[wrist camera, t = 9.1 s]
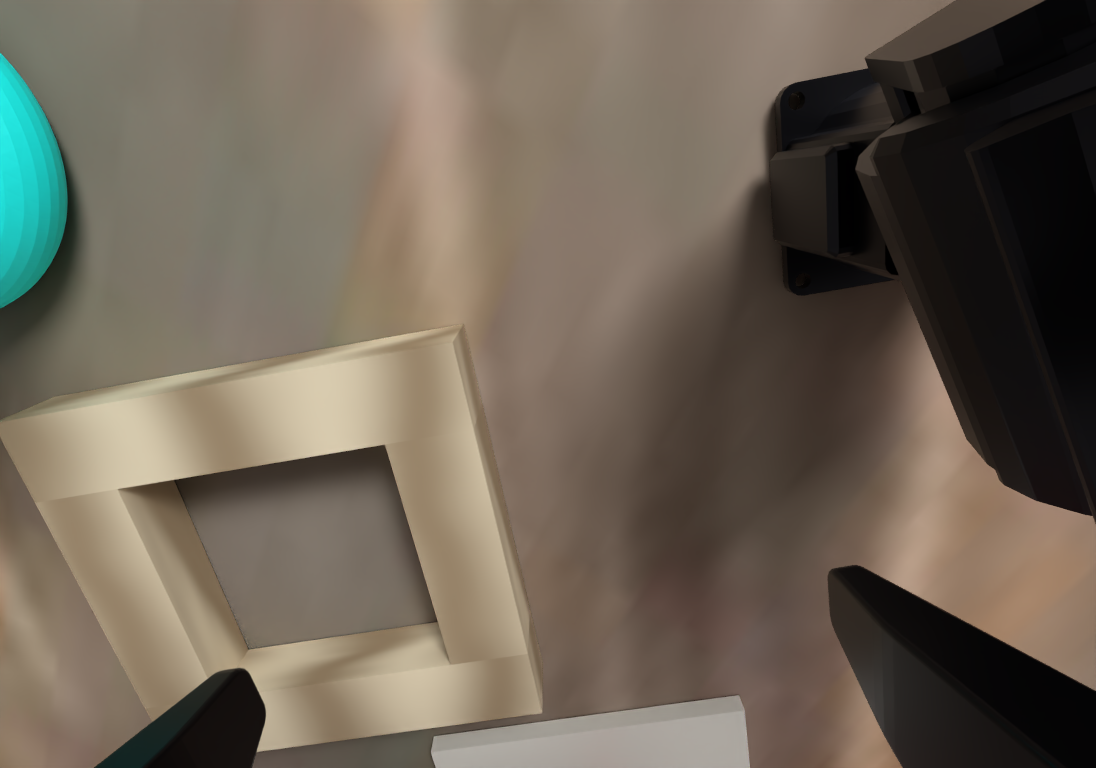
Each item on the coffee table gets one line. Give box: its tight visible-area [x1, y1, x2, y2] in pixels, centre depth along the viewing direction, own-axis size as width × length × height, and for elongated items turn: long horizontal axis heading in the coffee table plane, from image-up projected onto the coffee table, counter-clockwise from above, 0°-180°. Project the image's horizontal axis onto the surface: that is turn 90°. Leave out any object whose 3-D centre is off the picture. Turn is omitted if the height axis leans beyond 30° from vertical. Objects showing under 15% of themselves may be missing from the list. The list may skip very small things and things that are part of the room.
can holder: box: [0, 324, 543, 752], centre depth 22 cm, size 15×15×2 cm
